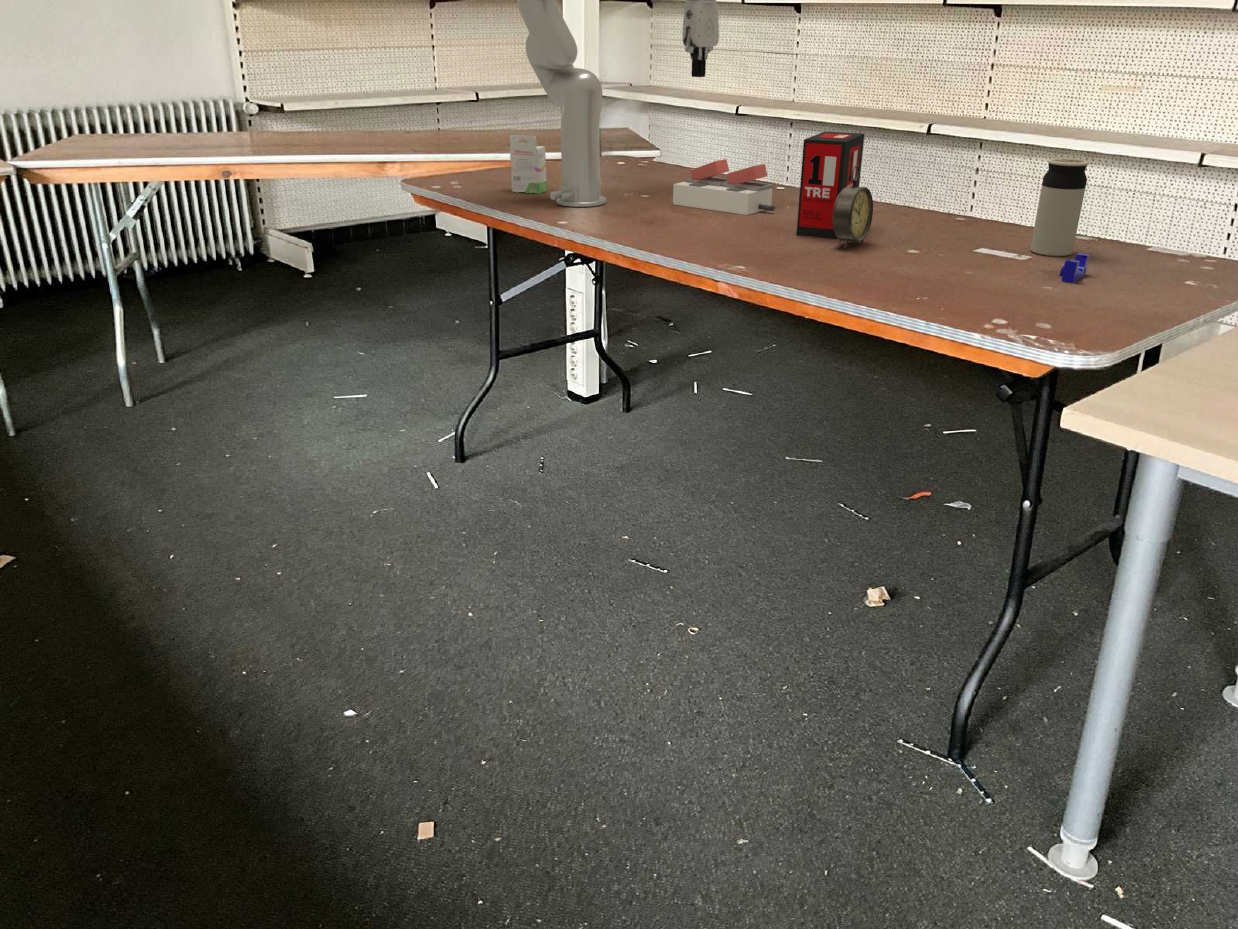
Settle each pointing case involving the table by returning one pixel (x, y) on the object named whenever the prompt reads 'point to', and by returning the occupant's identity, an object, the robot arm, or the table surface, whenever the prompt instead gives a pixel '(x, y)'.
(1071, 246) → the travel mug
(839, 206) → the alarm clock
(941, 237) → the table surface
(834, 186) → the cleaning product box
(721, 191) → the power strip
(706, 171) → the rocker
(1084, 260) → the cable holder
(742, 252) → the table surface
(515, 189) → the ink box
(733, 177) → the block
